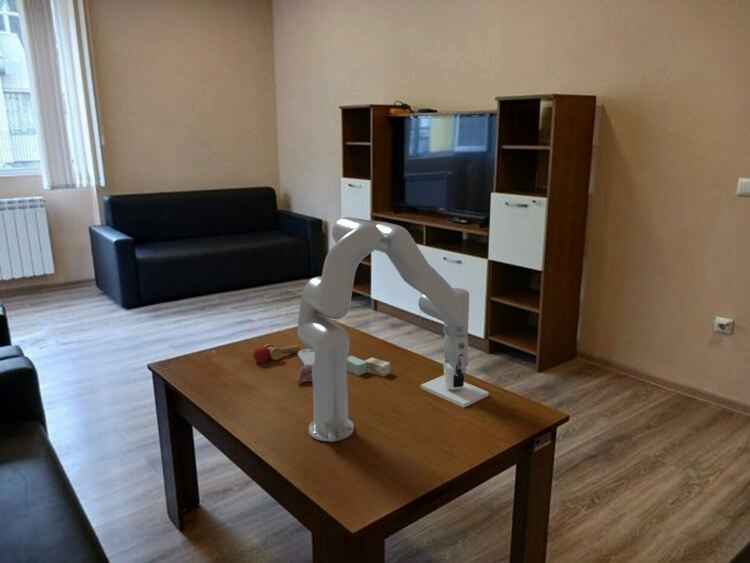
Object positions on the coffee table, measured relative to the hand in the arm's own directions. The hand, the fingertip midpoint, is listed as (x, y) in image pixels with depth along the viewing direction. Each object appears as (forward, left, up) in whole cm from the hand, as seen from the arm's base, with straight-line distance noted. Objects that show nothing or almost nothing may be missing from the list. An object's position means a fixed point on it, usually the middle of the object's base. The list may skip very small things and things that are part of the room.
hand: (453, 381), depth 186 cm
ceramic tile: (0, 0, -4) cm, 4 cm away
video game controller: (+19, +42, -4) cm, 46 cm away
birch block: (+21, +20, -4) cm, 29 cm away
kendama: (+43, +52, -4) cm, 68 cm away
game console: (+35, +40, -4) cm, 53 cm away
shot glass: (0, 0, -2) cm, 2 cm away
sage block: (+24, +27, -4) cm, 36 cm away
